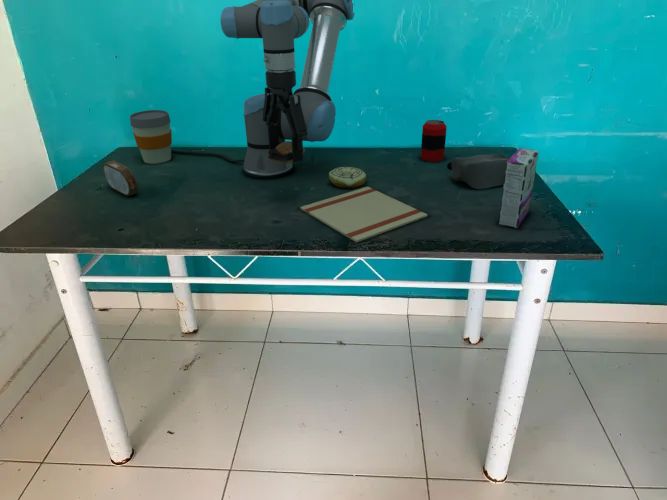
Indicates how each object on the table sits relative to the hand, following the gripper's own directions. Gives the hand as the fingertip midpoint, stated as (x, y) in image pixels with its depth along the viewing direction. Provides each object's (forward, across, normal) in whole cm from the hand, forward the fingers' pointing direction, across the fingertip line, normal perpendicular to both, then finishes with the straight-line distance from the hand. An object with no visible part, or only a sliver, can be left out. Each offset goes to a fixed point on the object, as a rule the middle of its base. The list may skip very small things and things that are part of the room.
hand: (285, 154), depth 139 cm
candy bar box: (+13, +46, +38) cm, 61 cm away
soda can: (+13, +1, +54) cm, 56 cm away
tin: (+12, -33, -36) cm, 50 cm away
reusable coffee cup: (+13, -55, -19) cm, 60 cm away
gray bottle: (+13, +24, +51) cm, 57 cm away
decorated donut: (+13, +1, +19) cm, 23 cm away
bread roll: (0, 0, 0) cm, 0 cm away
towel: (+12, +20, +10) cm, 26 cm away
